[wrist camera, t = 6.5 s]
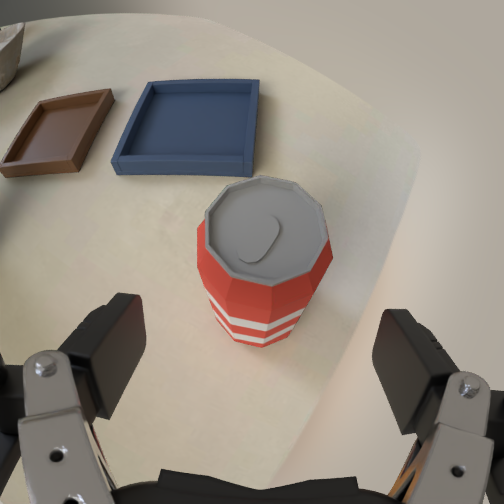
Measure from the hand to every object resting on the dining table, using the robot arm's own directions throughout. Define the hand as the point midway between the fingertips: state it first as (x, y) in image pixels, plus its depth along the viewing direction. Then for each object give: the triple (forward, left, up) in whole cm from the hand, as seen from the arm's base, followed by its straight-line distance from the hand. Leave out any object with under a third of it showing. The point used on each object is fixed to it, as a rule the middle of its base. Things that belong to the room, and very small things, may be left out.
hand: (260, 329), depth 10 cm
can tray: (+8, -24, -13) cm, 28 cm away
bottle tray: (+26, -24, -13) cm, 37 cm away
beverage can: (0, -5, -13) cm, 14 cm away
